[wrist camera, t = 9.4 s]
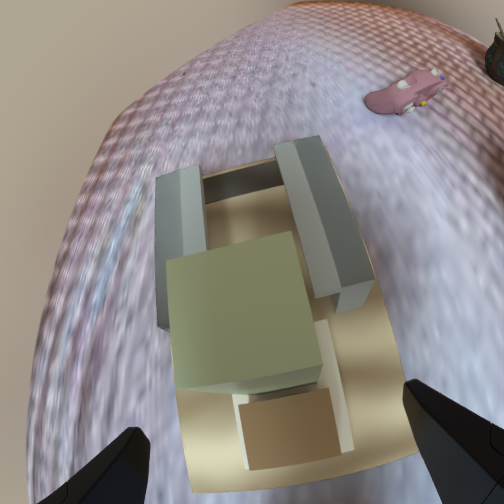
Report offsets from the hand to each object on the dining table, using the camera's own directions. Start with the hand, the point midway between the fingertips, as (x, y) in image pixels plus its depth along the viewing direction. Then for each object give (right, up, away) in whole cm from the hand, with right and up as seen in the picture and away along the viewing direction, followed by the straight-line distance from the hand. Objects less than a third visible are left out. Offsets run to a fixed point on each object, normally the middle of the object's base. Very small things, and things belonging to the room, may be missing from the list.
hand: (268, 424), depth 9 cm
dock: (0, +5, +16) cm, 16 cm away
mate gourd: (+39, +33, +23) cm, 56 cm away
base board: (+1, +1, +15) cm, 15 cm away
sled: (+2, -4, +10) cm, 11 cm away
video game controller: (+18, +22, +22) cm, 36 cm away
